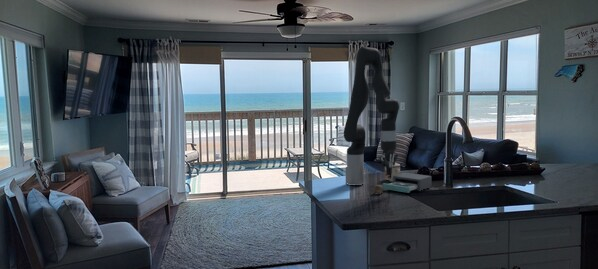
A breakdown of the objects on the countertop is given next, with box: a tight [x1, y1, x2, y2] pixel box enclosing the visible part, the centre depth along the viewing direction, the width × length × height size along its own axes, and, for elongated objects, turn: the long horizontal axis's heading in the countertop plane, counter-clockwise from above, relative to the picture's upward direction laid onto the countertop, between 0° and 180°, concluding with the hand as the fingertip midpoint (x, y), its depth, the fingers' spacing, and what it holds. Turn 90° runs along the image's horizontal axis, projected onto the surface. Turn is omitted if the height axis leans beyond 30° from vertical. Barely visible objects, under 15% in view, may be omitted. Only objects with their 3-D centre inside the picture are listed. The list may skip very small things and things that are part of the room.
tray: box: [382, 181, 418, 194], centre depth 215 cm, size 15×12×3 cm
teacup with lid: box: [384, 161, 401, 181], centre depth 240 cm, size 12×9×12 cm
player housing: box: [392, 172, 433, 192], centre depth 222 cm, size 16×12×6 cm
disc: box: [395, 183, 407, 187], centre depth 214 cm, size 6×6×2 cm
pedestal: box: [373, 184, 383, 195], centre depth 209 cm, size 4×4×4 cm
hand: (389, 174), depth 205 cm, fingers closed
